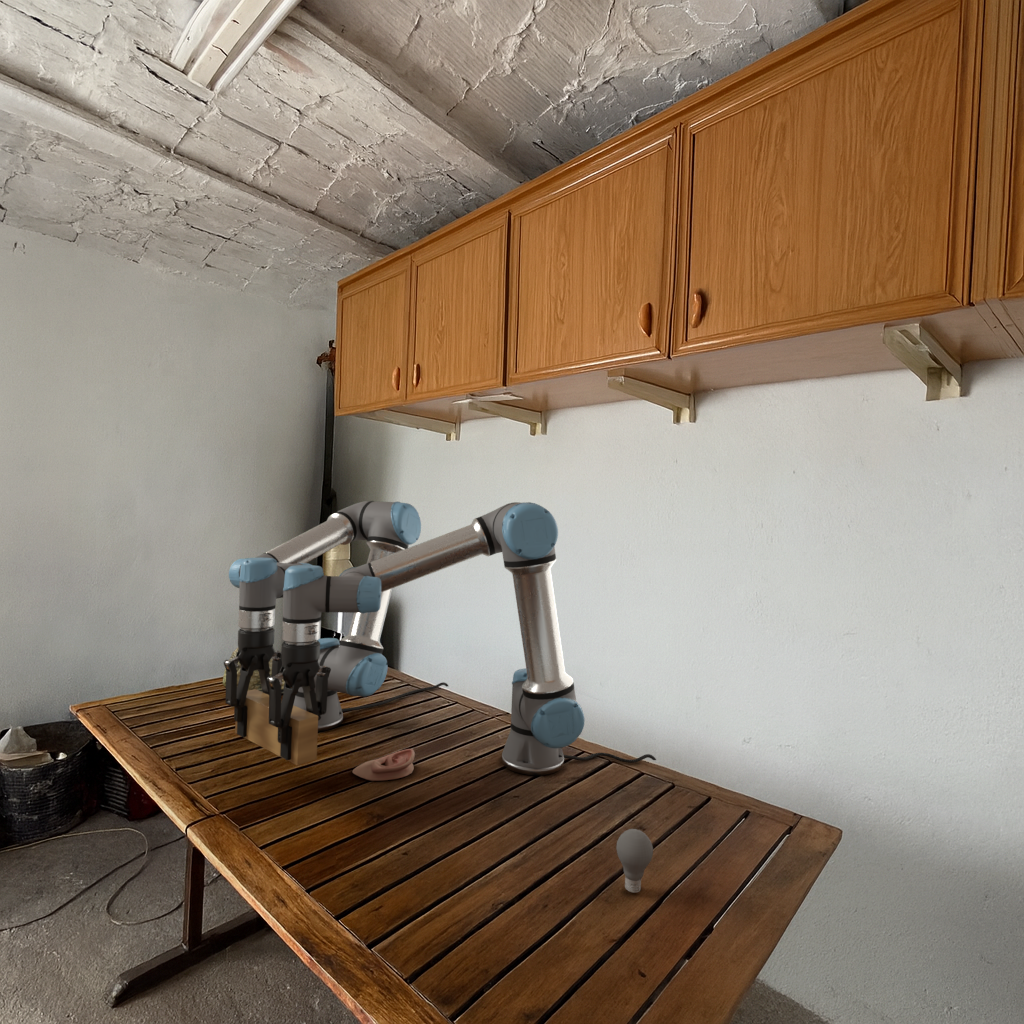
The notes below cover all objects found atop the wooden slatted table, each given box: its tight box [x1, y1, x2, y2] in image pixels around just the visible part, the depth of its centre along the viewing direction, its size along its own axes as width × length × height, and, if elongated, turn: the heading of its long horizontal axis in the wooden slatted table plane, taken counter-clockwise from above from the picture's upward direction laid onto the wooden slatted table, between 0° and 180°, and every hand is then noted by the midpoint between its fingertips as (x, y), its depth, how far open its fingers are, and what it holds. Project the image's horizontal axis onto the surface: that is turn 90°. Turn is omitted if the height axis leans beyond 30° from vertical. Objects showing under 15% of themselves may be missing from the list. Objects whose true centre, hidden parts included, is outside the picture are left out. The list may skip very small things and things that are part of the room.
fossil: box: [222, 647, 285, 694], centre depth 198 cm, size 9×18×15 cm, turn 132°
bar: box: [234, 689, 319, 767], centre depth 135 cm, size 25×4×9 cm, turn 51°
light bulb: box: [615, 828, 654, 894], centre depth 106 cm, size 6×6×10 cm
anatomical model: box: [352, 748, 416, 782], centre depth 147 cm, size 13×4×12 cm
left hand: (252, 731), depth 141 cm, fingers closed on bar, 4 cm apart
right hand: (296, 753), depth 130 cm, fingers closed on bar, 4 cm apart
